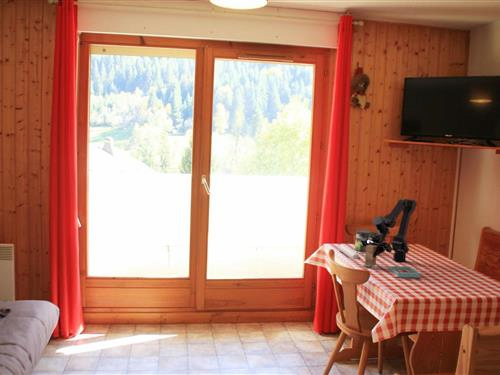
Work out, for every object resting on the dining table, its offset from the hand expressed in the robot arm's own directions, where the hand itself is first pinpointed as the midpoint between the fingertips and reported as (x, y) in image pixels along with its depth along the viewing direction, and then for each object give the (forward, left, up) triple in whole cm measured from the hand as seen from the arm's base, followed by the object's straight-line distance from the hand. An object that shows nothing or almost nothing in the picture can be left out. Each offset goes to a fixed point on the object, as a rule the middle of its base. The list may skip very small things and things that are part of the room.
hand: (369, 256), depth 293 cm
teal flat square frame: (-17, +10, -8) cm, 21 cm away
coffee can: (-12, -43, -8) cm, 45 cm away
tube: (+1, -31, -8) cm, 32 cm away
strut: (-1, -1, -5) cm, 5 cm away
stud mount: (-1, -1, -8) cm, 8 cm away
